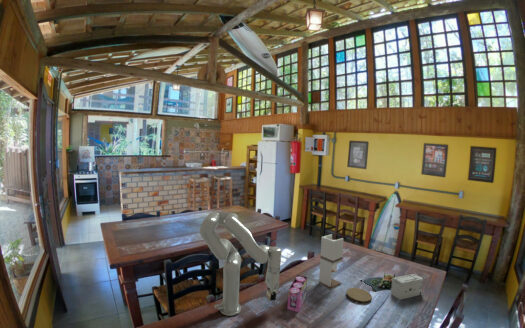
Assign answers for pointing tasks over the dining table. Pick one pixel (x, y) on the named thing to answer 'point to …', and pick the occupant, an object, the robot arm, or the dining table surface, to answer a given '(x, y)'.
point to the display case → (330, 260)
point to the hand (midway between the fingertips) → (271, 297)
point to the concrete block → (406, 286)
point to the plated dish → (380, 283)
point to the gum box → (297, 293)
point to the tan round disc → (359, 295)
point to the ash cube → (269, 294)
